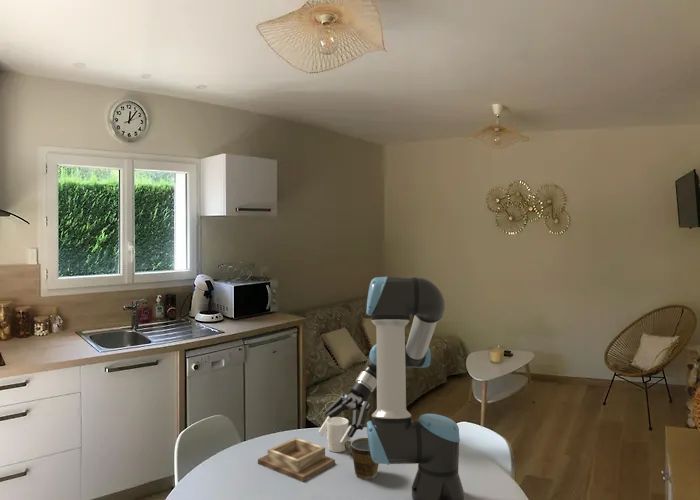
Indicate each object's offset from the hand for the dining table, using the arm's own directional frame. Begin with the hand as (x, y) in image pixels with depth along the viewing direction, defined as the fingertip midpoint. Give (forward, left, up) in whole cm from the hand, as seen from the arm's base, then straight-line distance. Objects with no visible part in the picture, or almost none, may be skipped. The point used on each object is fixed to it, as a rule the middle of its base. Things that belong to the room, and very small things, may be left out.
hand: (331, 438), depth 183 cm
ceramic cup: (-18, +7, -4) cm, 20 cm away
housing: (+3, +15, -4) cm, 16 cm away
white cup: (0, -3, -4) cm, 5 cm away
